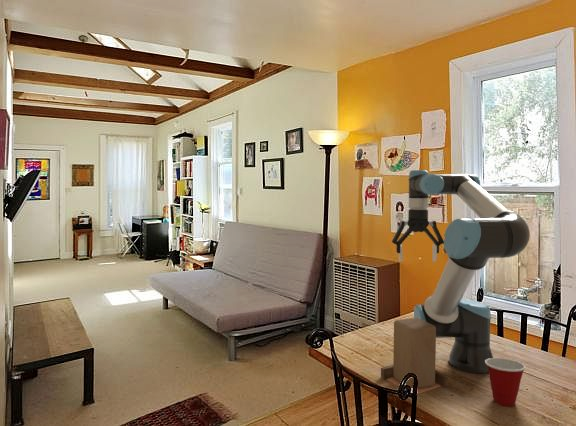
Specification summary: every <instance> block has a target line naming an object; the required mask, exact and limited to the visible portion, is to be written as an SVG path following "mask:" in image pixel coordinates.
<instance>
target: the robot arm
mask: <svg viewBox="0 0 576 426" xmlns="http://www.w3.org/2000/svg"><path fill="white" fill-rule="evenodd" d="M479 178H480V177H478V175H477V174H472V173H471V174H470V173H464V174H463V173H460V174H459V173H457V174H455V173H454V174H449V173H448V174H447V173H446V174H445V173H443V174H441V173H440V174H439V173H438V174H437V173H429V170H426V169H425V170H424V169H417V170H416V169H415V170H413V169H412V170H410V171H409V174H408V208H409V209H408V216H407V217H408V220H407V221H404V220H400V222H399V227H398V229H397V231H395V232H396V233H395V234H394V236H393V238H392V240H391V243H392V244H393V245H396V251H395V252H396V253H397V254H398V261H399V262H401V263H402V262H403V245H402V243H403V242H404V241H405V240H406V239H407V238H408V237H409V236H410V234H412V232H414V233H423V232H424V233H425V234H426V235H427V236H428V238H429V239H430V240H431V241H432V243H433V244H432V262H434V263H437V255H438V254H439V253H440V246H441V245H443V248H444V251H445V253H446V255H447V257H448V259H447V262H446V263H445V266H444V269H443V270H442V273H441V275H440V278H439V280H438V282H437V284H436V287H435V288H434V290H433V293H432V295H429V296H428V297H427V298H426V299H425V301H424V303H423V304H416V305H415V306H414V308H413V318H419V319H421V320H424V321H426V322H428V323H430V324H432V325H434V326H435V327H436V339H449V338H450V339H451V338H454V342H453V344H452V348H451V350H450V353H449V357H448V358H449V360H448V361H449V364H451V366H452V367H454V368H456V369H458V370H461V371H463V372H466V373H467V372H468V373H473V374H487V373H488V374H489V372H488V368H487V365H486V363H485V360H486V359H489V358H494V355H493V353H492V349H491V346H490V345H491V320H492V314H491V308H490V307H489V306H488V305H487V304H485V303H483V302H481V301H479V300H478V301H477V300H473V299H467V298H463V297H464V295H465V293H466V292H467V289H468V288H469V286H470V284H471V281H472V280H473V278H474V276H475V273H476V271H480V270H482V269H483V268H485V266H486V265H487V263H488V261H489V260H490V259H499V258H500V259H503V258H504V259H506V258H511V257H514V256H518V255H519V254H521V252H523V251H524V250H525V249H526V247H527V246H528V243H529V241H530V236H531V233H530V229H529V226H528V224H527V222H526V221H525V219H524V218H523V217H522V216H520V215H519V213H517V212H515V211H512V210H508V209H507V208H506V207H505V206H504V205H503V204H501V203H500V202H499V201H498V200H496V199H495V198H494V197H493V196H492V195H491V194H490V193H489V192H487V191H486V190H485V189H483V188H482V186H481V182H480V181H481V180H480V179H479ZM430 195H433V196H434V195H435V196H436V195H457V196H458V197H459V198H460V199H461V200H462V201H463V202H464V204H465V205H467V207H469V208H470V210H471V211H473V212H474V213H475V215H477V217H479V218H473V217H463V218H456V219H454V220H452V221H451V222H450V223H449V224H448V225H447V227H446V229H445V230H444V231H445V232H444V234H443V235H444V236H443V237H444V238H443V237H442V235H441V233H440V230H439V229H438V227H437V221H436V220H431V221H429V210H428V208H429V196H430ZM406 226H408V228H407V229H406V231H405V232H404V233H403V230H404V228H405V227H406ZM429 226H430V227H431V228H432V231H433V232H434V234H435V236H436V238H435V236H434V235H433V234H432V233H431V231H430V230H429V229H428V227H429ZM402 233H403V234H402ZM401 234H402V236H401ZM400 236H401V237H400Z"/></svg>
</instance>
